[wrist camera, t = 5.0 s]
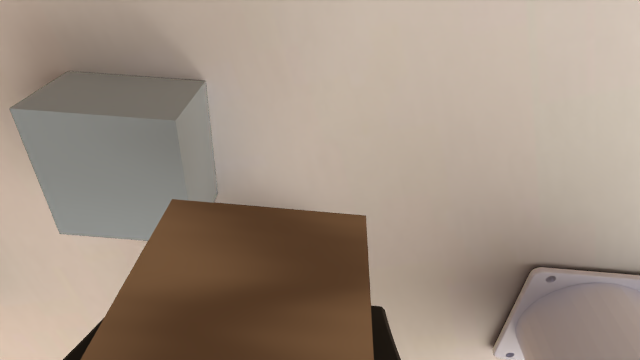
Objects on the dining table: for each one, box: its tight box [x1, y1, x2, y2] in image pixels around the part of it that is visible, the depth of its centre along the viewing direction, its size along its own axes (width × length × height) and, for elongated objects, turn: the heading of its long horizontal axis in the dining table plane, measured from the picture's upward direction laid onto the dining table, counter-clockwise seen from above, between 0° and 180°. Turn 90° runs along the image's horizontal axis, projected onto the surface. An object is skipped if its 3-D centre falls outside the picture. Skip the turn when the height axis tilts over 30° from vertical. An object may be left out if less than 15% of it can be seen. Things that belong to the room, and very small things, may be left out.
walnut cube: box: [81, 199, 374, 360], centre depth 10 cm, size 5×5×5 cm
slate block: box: [9, 71, 218, 241], centre depth 18 cm, size 6×6×4 cm
